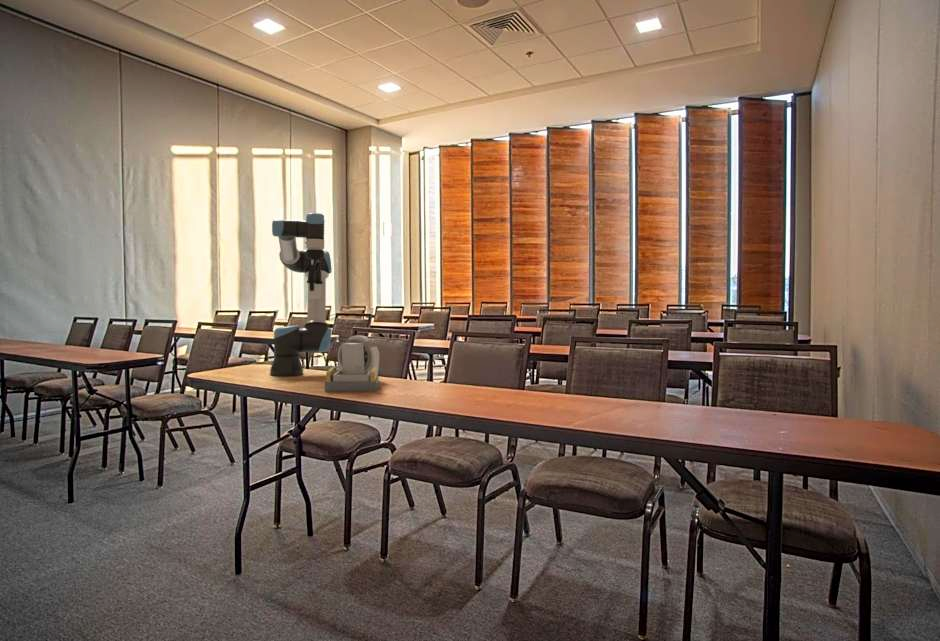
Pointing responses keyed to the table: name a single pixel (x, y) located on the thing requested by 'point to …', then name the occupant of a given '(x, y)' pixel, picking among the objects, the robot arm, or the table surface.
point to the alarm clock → (369, 353)
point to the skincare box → (352, 359)
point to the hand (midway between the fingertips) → (314, 298)
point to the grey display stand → (351, 381)
